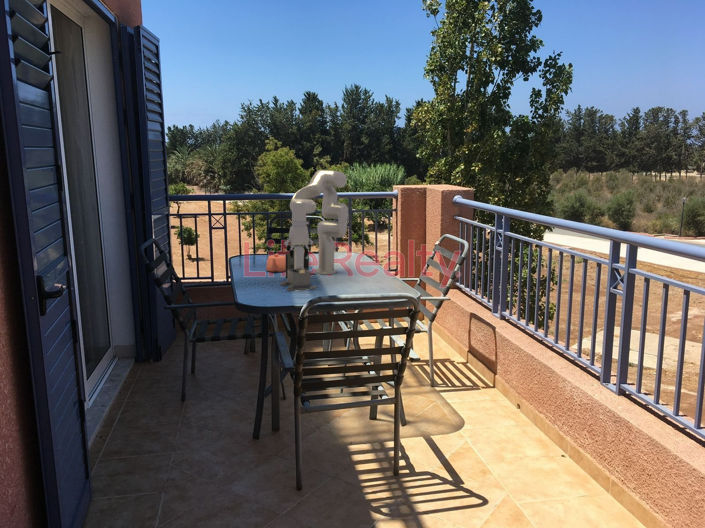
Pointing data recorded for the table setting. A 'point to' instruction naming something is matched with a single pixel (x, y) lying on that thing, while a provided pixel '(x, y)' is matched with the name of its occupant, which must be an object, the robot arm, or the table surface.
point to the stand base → (298, 280)
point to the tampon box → (291, 262)
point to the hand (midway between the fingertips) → (298, 256)
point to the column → (298, 258)
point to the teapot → (276, 263)
